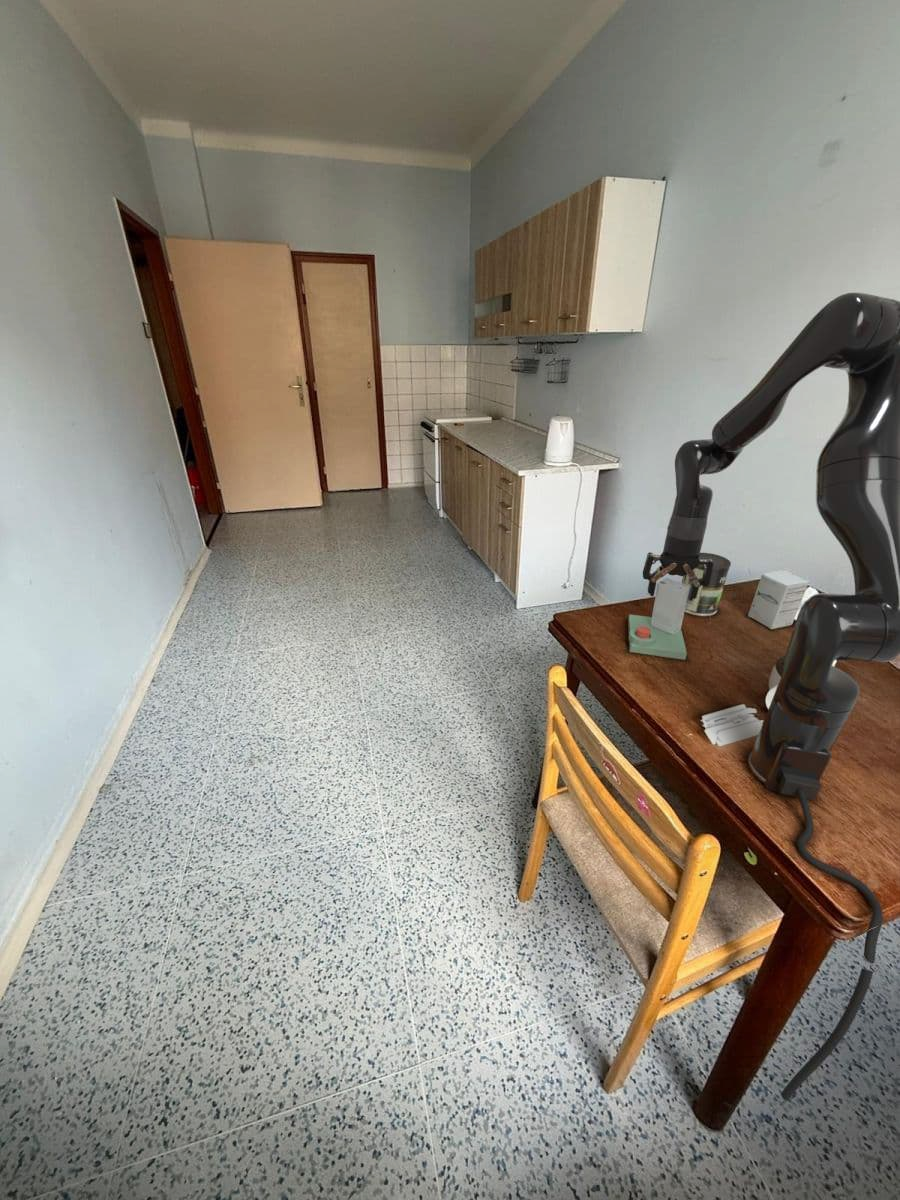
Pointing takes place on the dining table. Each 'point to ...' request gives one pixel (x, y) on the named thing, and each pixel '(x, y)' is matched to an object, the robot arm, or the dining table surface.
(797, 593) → the white packaging box
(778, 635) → the dining table surface
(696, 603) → the coffee can
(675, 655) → the green kitchen scale
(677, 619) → the cosmetic box
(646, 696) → the dining table surface
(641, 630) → the button
